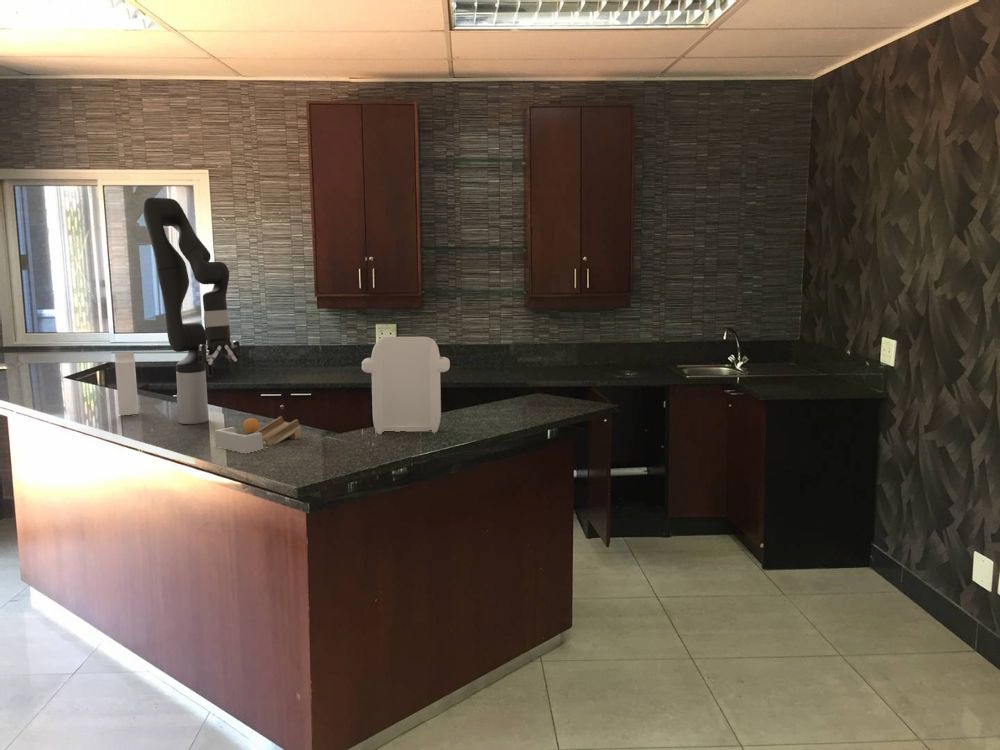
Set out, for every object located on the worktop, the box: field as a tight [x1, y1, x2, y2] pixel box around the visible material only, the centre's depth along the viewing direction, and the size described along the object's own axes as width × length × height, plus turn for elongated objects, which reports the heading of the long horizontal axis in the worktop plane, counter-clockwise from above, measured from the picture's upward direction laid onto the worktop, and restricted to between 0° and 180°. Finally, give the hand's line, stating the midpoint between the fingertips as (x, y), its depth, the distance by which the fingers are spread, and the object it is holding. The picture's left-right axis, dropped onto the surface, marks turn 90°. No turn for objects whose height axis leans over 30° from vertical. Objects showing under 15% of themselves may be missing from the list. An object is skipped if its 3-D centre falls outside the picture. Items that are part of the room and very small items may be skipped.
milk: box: [114, 351, 139, 416], centre depth 290 cm, size 6×6×22 cm
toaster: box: [361, 336, 451, 435], centre depth 262 cm, size 27×11×30 cm, turn 92°
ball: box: [242, 417, 261, 435], centre depth 261 cm, size 5×5×5 cm
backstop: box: [214, 426, 264, 455], centre depth 242 cm, size 14×6×5 cm, turn 53°
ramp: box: [254, 415, 302, 446], centre depth 252 cm, size 8×13×7 cm, turn 144°
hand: (222, 375), depth 267 cm, fingers open, 8 cm apart
